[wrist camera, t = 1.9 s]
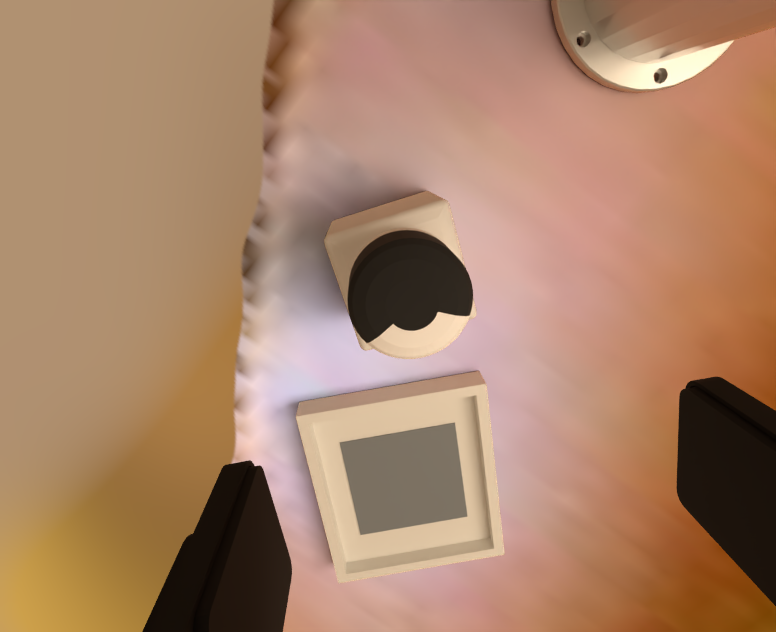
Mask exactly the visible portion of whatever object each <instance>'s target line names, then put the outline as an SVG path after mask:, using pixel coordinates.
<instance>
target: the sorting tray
mask: <svg viewBox="0 0 776 632" xmlns="http://www.w3.org/2000/svg"><path fill="white" fill-rule="evenodd" d="M296 420H297V424H298V428H299V431H300V435H301V439H302V443H303V447H304V451H305V455H306V459H307V463H308V466H309V470H310V474H311V478H312V482H313V486H314V490H315V494H316V498H317V501H318V505H319V509H320V513H321V517H322V521H323V525H324V529H325V532H326V536H327V540H328V544H329V548H330V552H331V556H332V560H333V564H334V567H335V571H336V575H337V579H338V583H343V582H349V581H355V580H361V579H366V578H372V577H378V576H384V575H389V574H395V573H401V572H407V571H412V570H418V569H424V568H430V567H435V566H441V565H447V564H453V563H459V562H464V561H470V560H476V559H482V558H487V557H493V556H499V555H504V545H503V536H502V526H501V517H500V508H499V498H498V489H497V479H496V470H495V461H494V451H493V442H492V432H491V423H490V414H489V404H488V395H487V385H486V382H485V380H484V379H483V377H482V375H481V373H480V371H475V372H469V373H464V374H458V375H452V376H446V377H440V378H435V379H429V380H423V381H417V382H412V383H406V384H400V385H394V386H388V387H383V388H377V389H371V390H365V391H359V392H354V393H348V394H342V395H336V396H331V397H325V398H319V399H313V400H307V401H302V402H299V405H298V409H297V413H296Z"/></svg>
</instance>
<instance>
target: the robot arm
mask: <svg viewBox="0 0 776 632" xmlns="http://www.w3.org/2000/svg"><path fill="white" fill-rule="evenodd" d="M551 7H552V12H553V16H554V21H555V25H556V29H557V32H558V34H559V36H560V39H561V41H562V44H563V46H564V48H565V49H566V51H567V52H568V54H569V55H570V57H571V58H572V60H573V61H574V63H575V64H576V65H577V66H578V67H579V68H580V69H581V70H582V71H583V72H584V73H585V74H586V75H587V76H589V77H590V78H592V79H593V80H595V81H597V82H598V83H600V84H602V85H603V86H606V87H609V88H612V89H615V90H618V91H623V92H634V93H642V92H650V91H658V90H661V89H665V88H669V87H673V86H676V85H678V84H680V83H683V82H685V81H687V80H690V79H692V78H693V77H695V76H696V75H698V74H699V73H701V72H702V71H704V70H705V69H707V68H708V67H710V66H711V65H712V64H713V63H714V62H715V61H716V60H717V59H718V58H719V57H721V56H722V55H723V54H724V53H725V52H726V51H727V49H728V48H729V47H730V46H731V44H732V43H733V42H734V41H735V39H739V38H742V37H745V36H748V35H752V34H755V33H758V32H761V31H764V30H768V29H771V28H774V27H776V0H551ZM577 38H579V39H580V41H581V44H580V46H579V45H578V44H577V41H576V40H577ZM654 75H655V77H656V78H655V81H654ZM677 494H678V497H679V499H680V501H681V503H682V505H683V506H684V507H685V508H686V510H687V511H688V512H689V513H690V514H691V515H692V516H693V517H694V518H695V519H696V520H697V521H698V523H699V524H700V525H701V526H702V527H703V528H704V529H705V530H706V531H707V532H708V533H709V534H710V536H711V537H712V538H713V539H714V540H715V541H716V542H717V543H718V544H719V545H720V546H721V547H722V549H723V550H724V551H725V552H726V553H727V554H728V555H729V556H730V557H731V558H732V559H733V560H734V562H735V563H736V564H737V565H738V566H739V567H740V568H741V569H742V570H743V571H744V572H745V573H746V575H747V576H748V577H749V578H750V579H751V580H752V581H753V582H754V583H755V584H756V585H757V586H758V588H759V589H760V590H761V591H762V592H763V593H764V594H765V595H766V596H767V597H768V598H769V599H770V601H771V602H772V603H773V604H774V605H775V606H776V411H775V410H773V409H772V408H770V407H768V406H767V405H765V404H764V403H762V402H760V401H759V400H757V399H755V398H754V397H752V396H750V395H749V394H747V393H746V392H744V391H742V390H741V389H739V388H737V387H736V386H734V385H733V384H731V383H729V382H728V381H726V380H724V379H723V378H720V377H711V378H705V379H700V380H694V381H690V382H689V383H688V384H687V385H686V389H683V390H682V391H681V392H680V399H679V431H678V462H677ZM291 576H292V566H291V559H290V556H289V552H288V549H287V546H286V543H285V539H284V536H283V533H282V530H281V526H280V523H279V520H278V516H277V513H276V510H275V507H274V503H273V500H272V497H271V494H270V490H269V487H268V484H267V480H266V477H265V474H264V471H263V468H262V467H261V466H254V464H253V463H252V461H244V462H239V463H233V464H228V465H225V466H223V468H222V470H221V472H220V474H219V477H218V479H217V481H216V483H215V486H214V488H213V490H212V492H211V495H210V497H209V499H208V502H207V504H206V506H205V508H204V510H203V513H202V515H201V517H200V520H199V522H198V524H197V526H196V529H195V531H194V533H193V534H191V535H189V536H188V537H187V538H186V539H185V541H184V542H183V544H182V546H181V548H180V551H179V553H178V555H177V557H176V560H175V562H174V564H173V566H172V568H171V570H170V572H169V575H168V577H167V579H166V581H165V583H164V586H163V588H162V590H161V592H160V594H159V596H158V599H157V601H156V603H155V605H154V607H153V610H152V612H151V614H150V616H149V618H148V621H147V623H146V625H145V627H144V629H143V632H283V626H284V620H285V614H286V608H287V602H288V595H289V589H290V583H291Z"/></svg>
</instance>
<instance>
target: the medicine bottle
mask: <svg viewBox="0 0 776 632" xmlns="http://www.w3.org/2000/svg"><path fill="white" fill-rule="evenodd" d="M324 244H325V247H326V250H327V253H328V256H329V259H330V261H331V264H332V267H333V270H334V273H335V276H336V279H337V281H338V284H339V287H340V290H341V293H342V296H343V299H344V301H345V304H346V307H347V310H348V313H349V316H350V319H351V322H352V324H353V327H354V330H355V333H356V336H357V339H358V342H359V344H360V347H361V348H362V349H363V350H371V349H375V350H377V351H379V352H380V353H383V354H385V355H388V356H391V357H395V358H402V359H415V358H422V357H425V356H429V355H432V354H434V353H437V352H438V351H440V350H442V349H444V348H445V347H447V346H448V345H449V344H451V343H452V342H453V341H454V340H455V339H456V338H457V337H458V336H459V334H460V333H461V332H462V330H463V329H464V327H465V325H466V324H467V321H468V320H470V319H473V318H474V317H475V316H476V307H475V303H474V300H473V289H472V283H471V280H470V277H469V274H468V272H467V270H466V268H465V264H464V260H463V256H462V252H461V248H460V245H459V241H458V237H457V233H456V229H455V225H454V221H453V217H452V213H451V209H450V205H449V203H448V201H446V200H445V199H443V198H441V197H439V196H437V195H435V194H433V193H431V192H429V191H425V192H421V193H418V194H415V195H412V196H409V197H406V198H402V199H399V200H396V201H393V202H390V203H387V204H383V205H380V206H377V207H374V208H371V209H368V210H364V211H361V212H358V213H355V214H352V215H349V216H345V217H342V218H339V219H336V220H334V221H332V223H331V225H330V227H329V229H328V232H327V234H326V236H325V239H324Z"/></svg>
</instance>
